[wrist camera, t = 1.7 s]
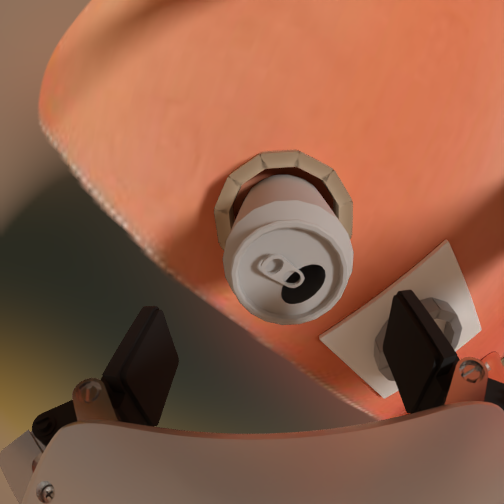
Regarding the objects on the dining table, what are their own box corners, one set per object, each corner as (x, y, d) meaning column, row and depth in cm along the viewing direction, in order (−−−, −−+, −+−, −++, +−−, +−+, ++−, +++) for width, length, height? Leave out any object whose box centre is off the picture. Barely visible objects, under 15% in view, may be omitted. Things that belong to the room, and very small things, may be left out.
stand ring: (344, 148, 22) (351, 150, 20) (344, 266, 27) (349, 279, 24) (213, 156, 23) (207, 159, 21) (229, 273, 28) (225, 286, 26)
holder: (445, 239, 24) (460, 250, 22) (479, 327, 29) (489, 340, 26) (318, 335, 30) (321, 354, 28) (383, 395, 35) (387, 411, 32)
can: (286, 266, 27) (291, 354, 16) (225, 217, 26) (189, 284, 15) (341, 211, 24) (388, 274, 14) (279, 155, 23) (285, 174, 12)
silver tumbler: (503, 343, 30) (541, 402, 16) (495, 367, 33) (527, 423, 19) (474, 360, 32) (510, 426, 18) (468, 383, 34) (497, 444, 20)
